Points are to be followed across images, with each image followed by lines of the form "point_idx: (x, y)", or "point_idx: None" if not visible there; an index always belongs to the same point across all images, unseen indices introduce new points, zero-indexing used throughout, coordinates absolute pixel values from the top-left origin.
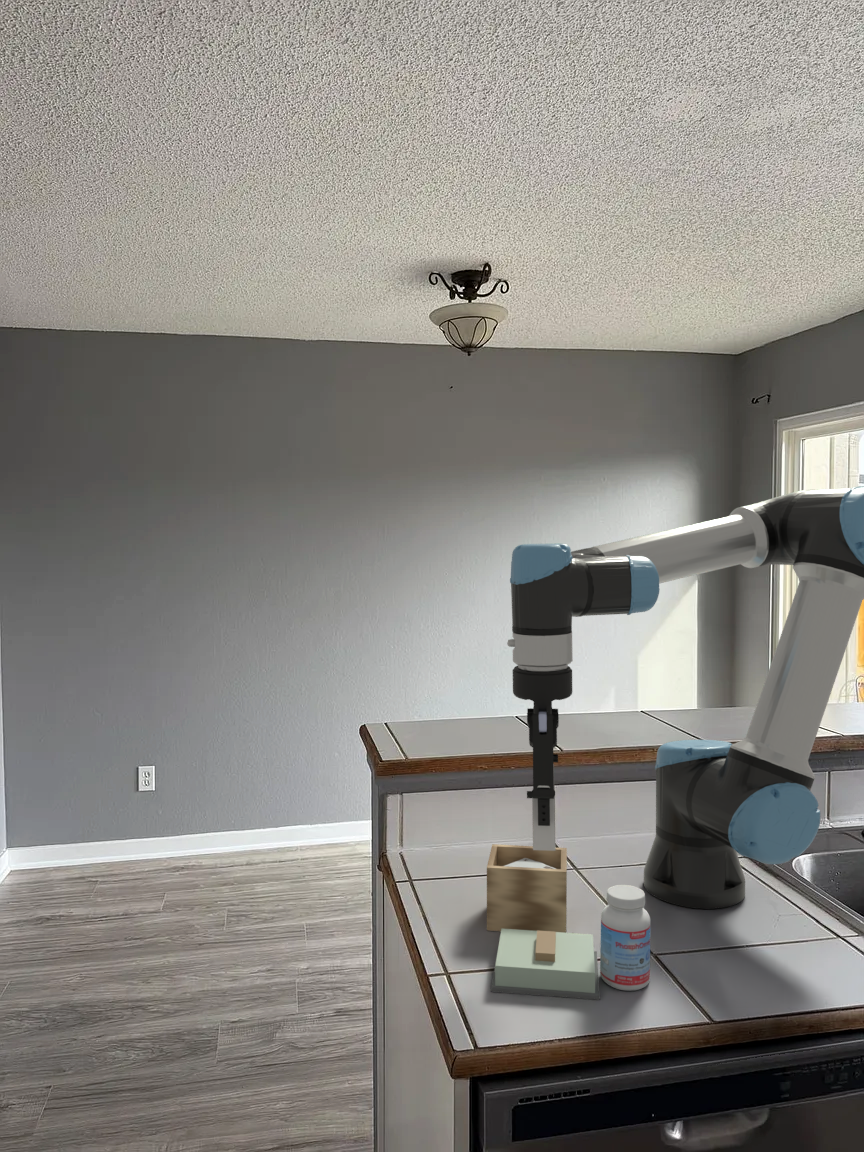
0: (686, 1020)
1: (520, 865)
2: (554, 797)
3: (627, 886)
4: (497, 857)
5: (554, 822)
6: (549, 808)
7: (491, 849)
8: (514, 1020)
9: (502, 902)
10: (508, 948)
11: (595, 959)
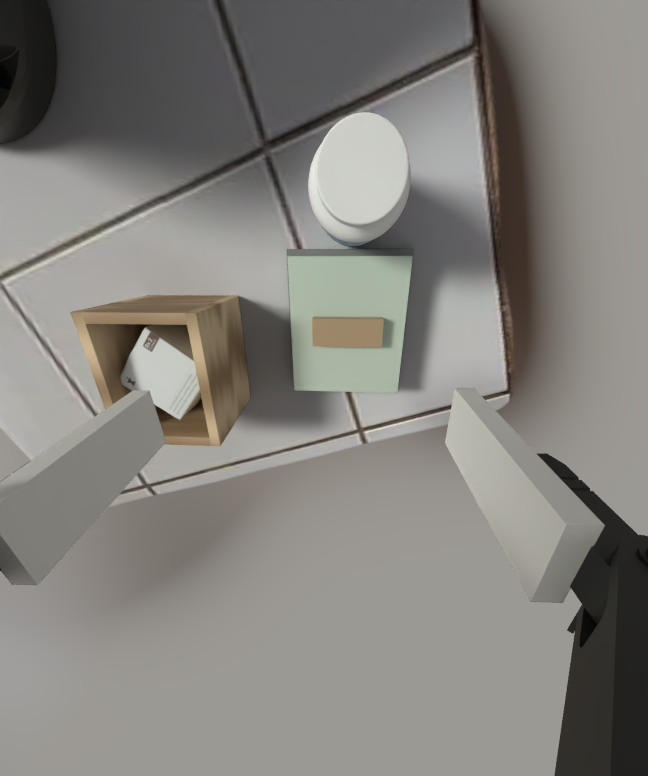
0: (469, 102)
1: (159, 390)
2: (603, 527)
3: (325, 165)
4: None
5: (520, 440)
6: (611, 511)
7: None
8: (458, 356)
9: (236, 396)
10: (350, 379)
11: (311, 252)
